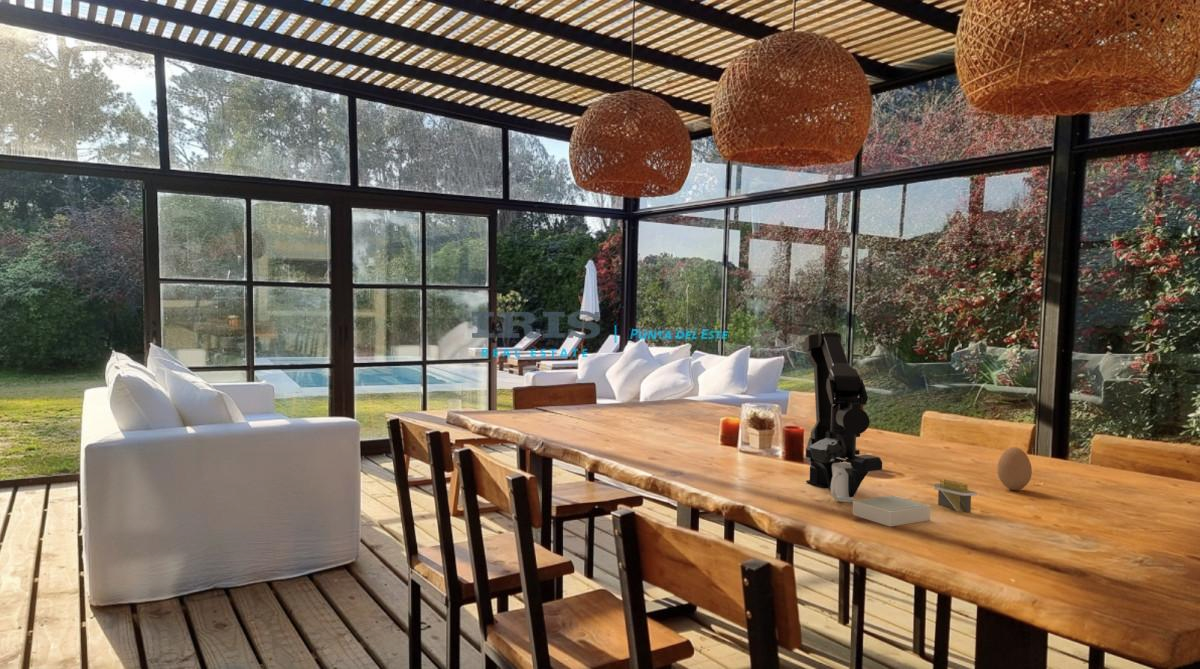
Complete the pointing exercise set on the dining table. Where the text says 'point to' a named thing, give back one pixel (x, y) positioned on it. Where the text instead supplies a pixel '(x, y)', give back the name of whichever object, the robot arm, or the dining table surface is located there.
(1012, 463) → the egg
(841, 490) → the cup
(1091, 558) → the dining table surface
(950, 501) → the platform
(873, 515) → the slab
